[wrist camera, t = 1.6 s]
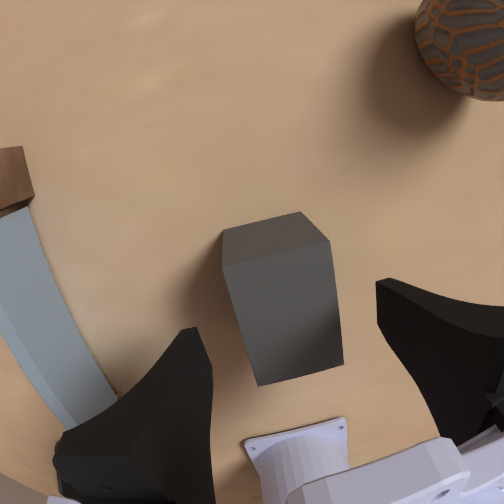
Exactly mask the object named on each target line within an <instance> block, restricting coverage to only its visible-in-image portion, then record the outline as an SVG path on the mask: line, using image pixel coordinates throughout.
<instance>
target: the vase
mask: <svg viewBox="0 0 504 504" xmlns="http://www.w3.org/2000/svg"><path fill="white" fill-rule="evenodd" d="M414 27H415V37H416V42H417V46H418V49H419V51H420V54H421V56H422V58H423V60H424V61H425V63H426V65H427V66H428V67H429V69H430V70H431V71H432V72H433V74H434V75H435V76H436V77H437V78H438V79H439V80H440V81H441V82H442V83H444V84H445V85H446V86H448V87H449V88H451V89H452V90H454V91H456V92H458V93H460V94H462V95H465V96H467V97H470V98H474V99H477V100H482V101H504V0H423V1H422V2H421V4H420V6H419V8H418V11H417V14H416V17H415V25H414Z"/></svg>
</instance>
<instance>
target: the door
mask: <svg viewBox="0 0 504 504" xmlns="http://www.w3.org/2000/svg"><path fill="white" fill-rule="evenodd" d="M0 332H1V334H2V336H3V338H4V339H5V341H6V343H7V345H8V347H9V348H10V350H11V352H12V353H13V355H14V357H15V358H16V360H17V362H18V363H19V365H20V366H21V368H22V370H23V371H24V373H25V374H26V376H27V377H28V379H29V380H30V382H31V383H32V385H33V386H34V388H35V389H36V390H37V392H38V393H39V395H40V396H41V397H42V399H43V400H44V402H45V403H46V404H47V406H48V407H49V408H50V410H51V411H52V412H53V414H54V415H55V416H56V417H57V419H58V420H59V421H60V422H61V424H62V425H63V426H64V427H65V429H66V430H67V431H68V430H70V429H72V428H74V427H76V426H78V425H80V424H82V423H84V422H86V421H88V420H90V419H91V418H93V417H95V416H96V415H98V414H100V413H101V412H103V411H104V410H106V409H107V408H108V407H110V406H111V405H112V404H114V403H115V402H116V401H117V400H118V397H117V396H116V394H115V393H114V391H113V390H112V388H111V386H110V385H109V383H108V382H107V380H106V378H105V377H104V375H103V373H102V372H101V370H100V368H99V367H98V365H97V363H96V361H95V360H94V358H93V356H92V354H91V353H90V351H89V349H88V347H87V345H86V343H85V342H84V340H83V338H82V336H81V334H80V332H79V330H78V328H77V326H76V324H75V322H74V320H73V318H72V316H71V314H70V312H69V310H68V308H67V306H66V304H65V302H64V299H63V297H62V295H61V293H60V291H59V288H58V286H57V284H56V281H55V279H54V277H53V274H52V272H51V270H50V267H49V265H48V262H47V260H46V257H45V254H44V252H43V249H42V246H41V244H40V241H39V238H38V235H37V233H36V230H35V227H34V224H33V221H32V218H31V215H30V211H29V208H28V206H27V207H24V208H22V209H20V210H18V211H15V212H13V213H11V214H8V215H6V216H4V217H2V218H0Z"/></svg>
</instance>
